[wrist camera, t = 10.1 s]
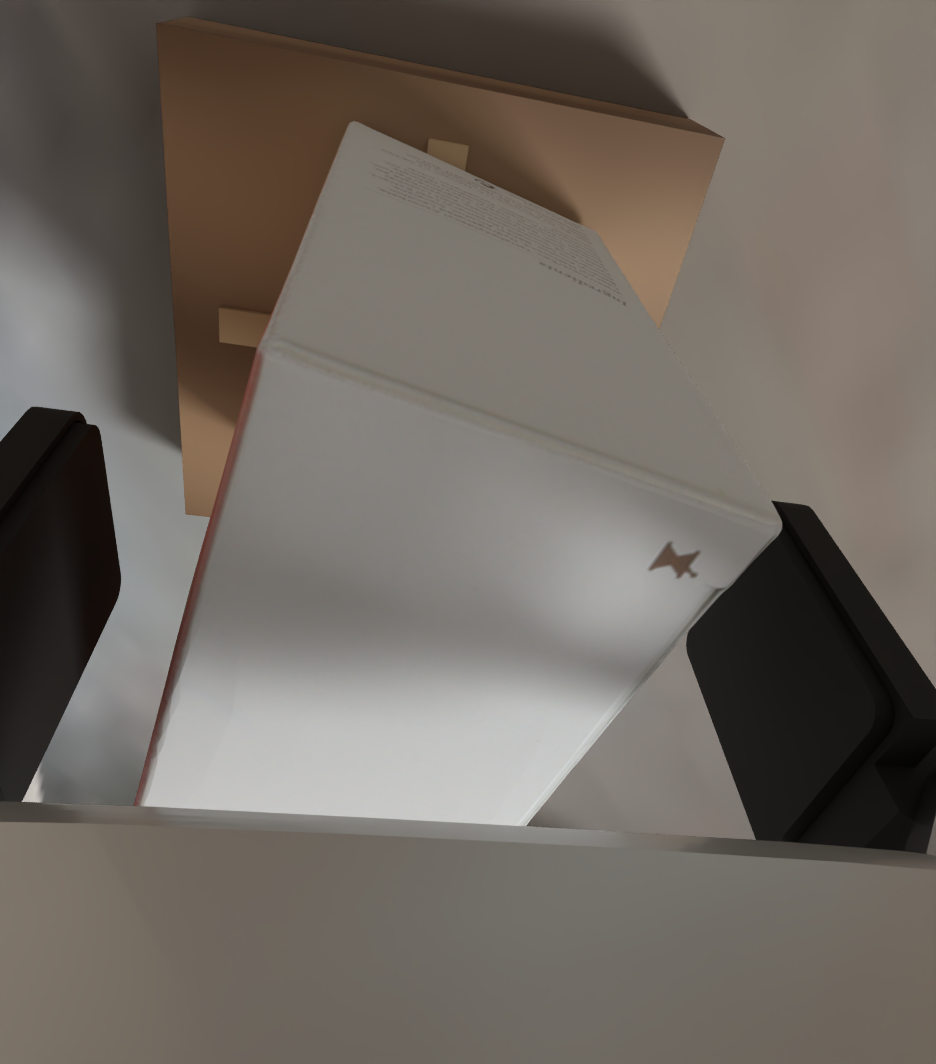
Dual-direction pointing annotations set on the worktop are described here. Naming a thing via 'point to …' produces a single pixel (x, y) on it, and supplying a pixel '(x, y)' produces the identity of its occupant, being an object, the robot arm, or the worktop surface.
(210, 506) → the brown cardboard box
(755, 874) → the robot arm
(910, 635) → the worktop surface
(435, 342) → the small box
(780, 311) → the worktop surface
